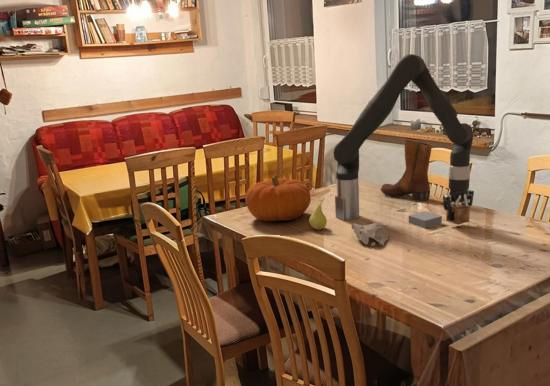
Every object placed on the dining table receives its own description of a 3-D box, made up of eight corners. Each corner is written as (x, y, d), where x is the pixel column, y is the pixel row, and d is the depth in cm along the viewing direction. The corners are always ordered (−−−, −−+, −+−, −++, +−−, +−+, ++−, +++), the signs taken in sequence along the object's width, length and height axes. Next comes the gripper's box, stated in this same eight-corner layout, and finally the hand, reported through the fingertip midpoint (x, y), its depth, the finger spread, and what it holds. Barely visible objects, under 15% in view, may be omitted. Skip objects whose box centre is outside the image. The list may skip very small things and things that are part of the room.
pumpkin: (261, 233, 223) (257, 185, 218) (237, 216, 248) (234, 172, 243) (323, 220, 234) (321, 174, 229) (294, 205, 259) (292, 163, 254)
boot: (377, 195, 266) (376, 140, 259) (390, 191, 271) (389, 137, 265) (421, 204, 247) (421, 145, 240) (433, 199, 252) (434, 141, 245)
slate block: (424, 229, 216) (424, 220, 215) (408, 223, 224) (408, 215, 223) (441, 224, 220) (441, 216, 219) (425, 219, 228) (425, 211, 227)
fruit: (306, 229, 223) (305, 201, 220) (318, 224, 229) (316, 196, 226) (319, 232, 219) (318, 203, 216) (331, 227, 224) (330, 199, 221)
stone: (345, 249, 209) (381, 259, 200) (342, 232, 204) (379, 240, 196) (364, 226, 218) (399, 234, 210) (361, 209, 214) (397, 216, 205)
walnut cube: (457, 224, 211) (458, 209, 209) (446, 220, 216) (446, 205, 214) (469, 221, 214) (469, 206, 212) (457, 217, 219) (458, 203, 217)
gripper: (465, 172, 216) (464, 213, 221) (437, 177, 210) (436, 219, 215) (480, 175, 210) (478, 217, 214) (452, 181, 204) (451, 224, 208)
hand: (457, 218), depth 215 cm, fingers closed on walnut cube, 6 cm apart
